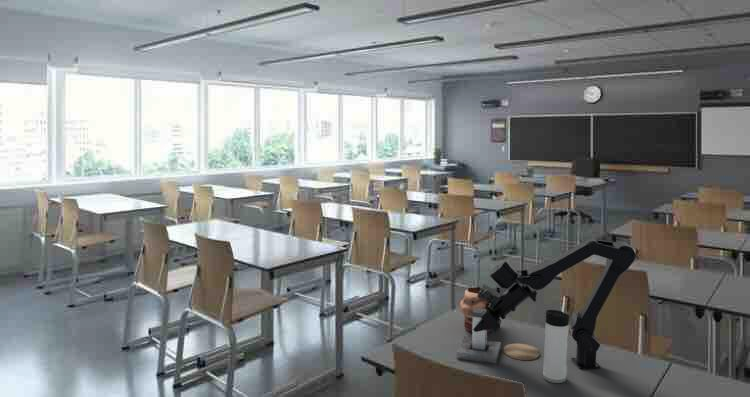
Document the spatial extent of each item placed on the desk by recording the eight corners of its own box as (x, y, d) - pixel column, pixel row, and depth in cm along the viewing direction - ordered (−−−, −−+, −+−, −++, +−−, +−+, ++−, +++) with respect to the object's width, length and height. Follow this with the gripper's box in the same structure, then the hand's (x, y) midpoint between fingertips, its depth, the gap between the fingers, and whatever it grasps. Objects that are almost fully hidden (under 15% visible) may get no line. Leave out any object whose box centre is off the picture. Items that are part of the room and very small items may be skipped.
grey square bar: (486, 346, 172) (487, 309, 170) (484, 352, 168) (485, 313, 166) (474, 345, 173) (474, 307, 171) (471, 350, 170) (472, 312, 168)
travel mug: (537, 375, 156) (540, 309, 153) (556, 371, 158) (559, 306, 155) (551, 385, 150) (554, 316, 147) (570, 381, 153) (574, 313, 150)
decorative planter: (477, 315, 204) (478, 279, 202) (508, 322, 196) (509, 285, 194) (451, 331, 188) (452, 293, 186) (483, 340, 181) (484, 300, 178)
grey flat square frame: (500, 348, 174) (501, 342, 174) (495, 364, 163) (496, 357, 163) (463, 343, 179) (464, 337, 178) (456, 358, 167) (456, 352, 167)
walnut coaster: (544, 359, 166) (545, 357, 166) (509, 360, 166) (509, 358, 165) (532, 344, 177) (532, 342, 177) (499, 345, 176) (499, 343, 176)
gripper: (497, 270, 175) (463, 299, 180) (489, 287, 157) (451, 319, 163) (522, 296, 173) (486, 325, 178) (516, 316, 156) (477, 347, 161)
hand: (475, 328), depth 170 cm, fingers closed on grey square bar, 4 cm apart
